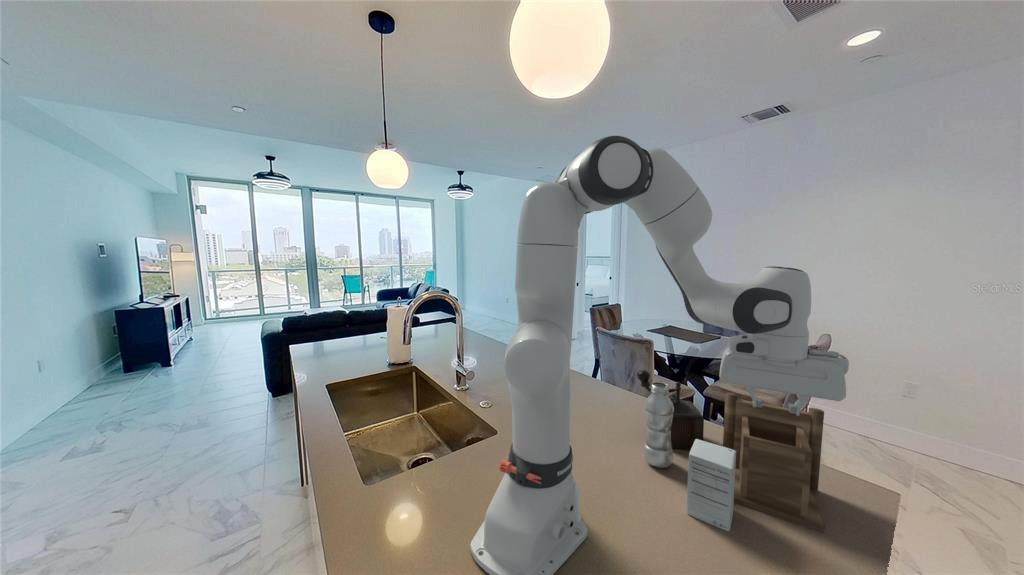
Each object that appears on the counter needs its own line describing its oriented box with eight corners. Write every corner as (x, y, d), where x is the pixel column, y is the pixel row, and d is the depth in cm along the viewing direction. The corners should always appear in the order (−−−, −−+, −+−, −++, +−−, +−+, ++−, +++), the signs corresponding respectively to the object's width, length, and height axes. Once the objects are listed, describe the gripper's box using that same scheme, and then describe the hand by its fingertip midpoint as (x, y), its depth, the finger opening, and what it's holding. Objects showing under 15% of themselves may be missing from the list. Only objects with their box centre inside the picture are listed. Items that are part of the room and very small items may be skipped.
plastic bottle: (678, 472, 77) (680, 390, 76) (649, 472, 78) (651, 390, 76) (665, 455, 84) (668, 379, 82) (639, 455, 84) (640, 380, 82)
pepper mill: (689, 430, 96) (691, 370, 95) (703, 452, 86) (707, 385, 84) (633, 425, 99) (635, 367, 98) (641, 446, 88) (643, 381, 87)
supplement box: (692, 493, 71) (695, 437, 69) (734, 509, 66) (737, 450, 65) (685, 514, 65) (687, 453, 64) (729, 533, 60) (733, 468, 59)
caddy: (833, 535, 60) (841, 441, 58) (720, 497, 69) (724, 415, 68) (816, 488, 72) (822, 409, 70) (721, 462, 81) (725, 391, 80)
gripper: (844, 349, 64) (838, 416, 66) (721, 336, 75) (718, 394, 77) (855, 357, 59) (849, 430, 60) (721, 342, 70) (718, 405, 71)
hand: (775, 410), depth 69 cm, fingers open, 5 cm apart
